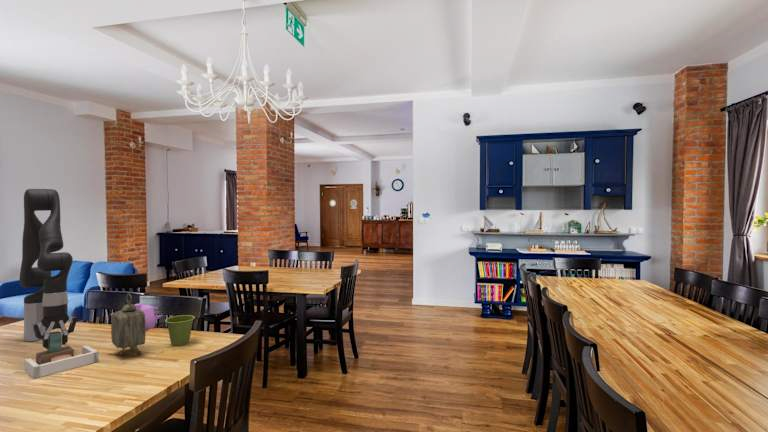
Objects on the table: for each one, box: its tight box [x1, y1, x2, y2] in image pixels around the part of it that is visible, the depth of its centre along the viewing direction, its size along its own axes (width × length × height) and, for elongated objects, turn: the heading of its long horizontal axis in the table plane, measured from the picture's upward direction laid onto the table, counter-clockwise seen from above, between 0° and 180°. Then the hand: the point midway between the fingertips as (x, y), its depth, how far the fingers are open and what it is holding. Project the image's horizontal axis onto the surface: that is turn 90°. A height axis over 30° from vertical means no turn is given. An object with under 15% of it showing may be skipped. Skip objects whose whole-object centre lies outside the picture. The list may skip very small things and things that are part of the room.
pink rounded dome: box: [51, 355, 72, 362], centre depth 147 cm, size 6×6×3 cm
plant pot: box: [164, 314, 196, 347], centre depth 172 cm, size 12×12×11 cm
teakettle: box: [110, 303, 162, 330], centre depth 195 cm, size 17×17×12 cm
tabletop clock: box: [110, 292, 147, 356], centre depth 159 cm, size 14×9×25 cm, turn 47°
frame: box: [24, 345, 100, 379], centre depth 146 cm, size 12×19×4 cm, turn 145°
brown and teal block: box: [35, 330, 75, 365], centre depth 151 cm, size 7×10×11 cm
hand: (55, 346), depth 151 cm, fingers open, 4 cm apart
